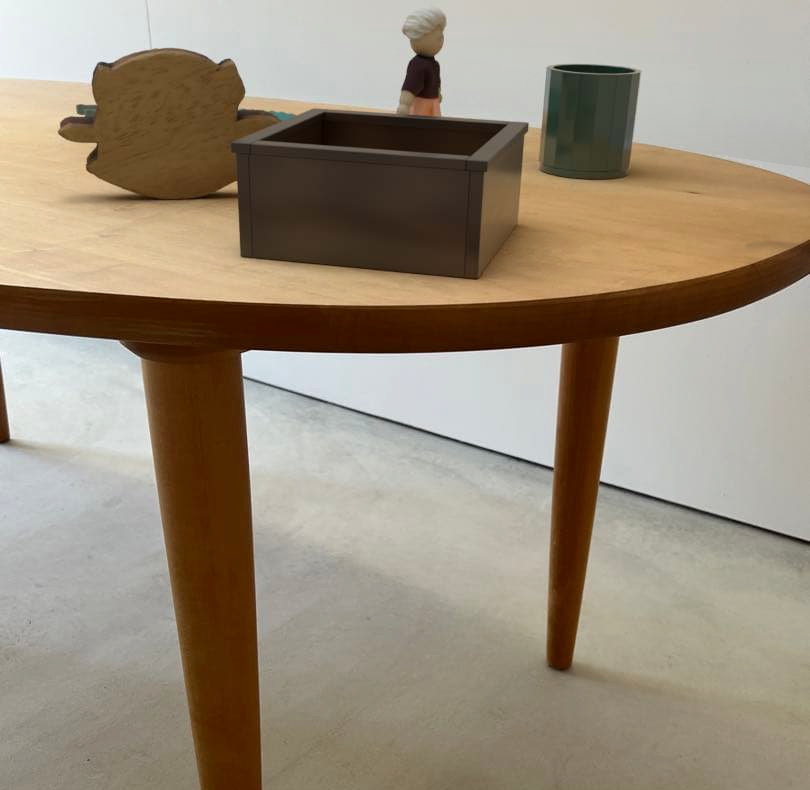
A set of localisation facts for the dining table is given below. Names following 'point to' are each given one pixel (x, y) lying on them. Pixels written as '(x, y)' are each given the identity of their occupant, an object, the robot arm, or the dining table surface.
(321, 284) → the dining table surface
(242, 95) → the wooden carving
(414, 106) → the grandmother figurine
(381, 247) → the dark wooden storage bin
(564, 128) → the cup
